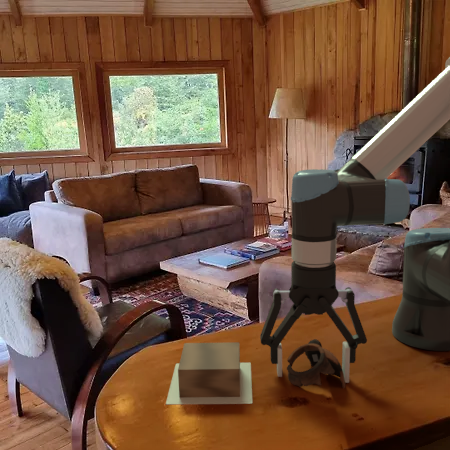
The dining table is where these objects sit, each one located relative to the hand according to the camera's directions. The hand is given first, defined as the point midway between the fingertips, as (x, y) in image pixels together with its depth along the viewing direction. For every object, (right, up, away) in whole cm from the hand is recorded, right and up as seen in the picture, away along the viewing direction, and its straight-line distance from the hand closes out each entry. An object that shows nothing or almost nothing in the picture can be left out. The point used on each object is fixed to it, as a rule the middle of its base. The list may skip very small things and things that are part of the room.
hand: (312, 379), depth 94 cm
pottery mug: (+1, -1, 0) cm, 1 cm away
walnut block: (-18, 0, -3) cm, 18 cm away
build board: (-18, -1, -2) cm, 18 cm away
